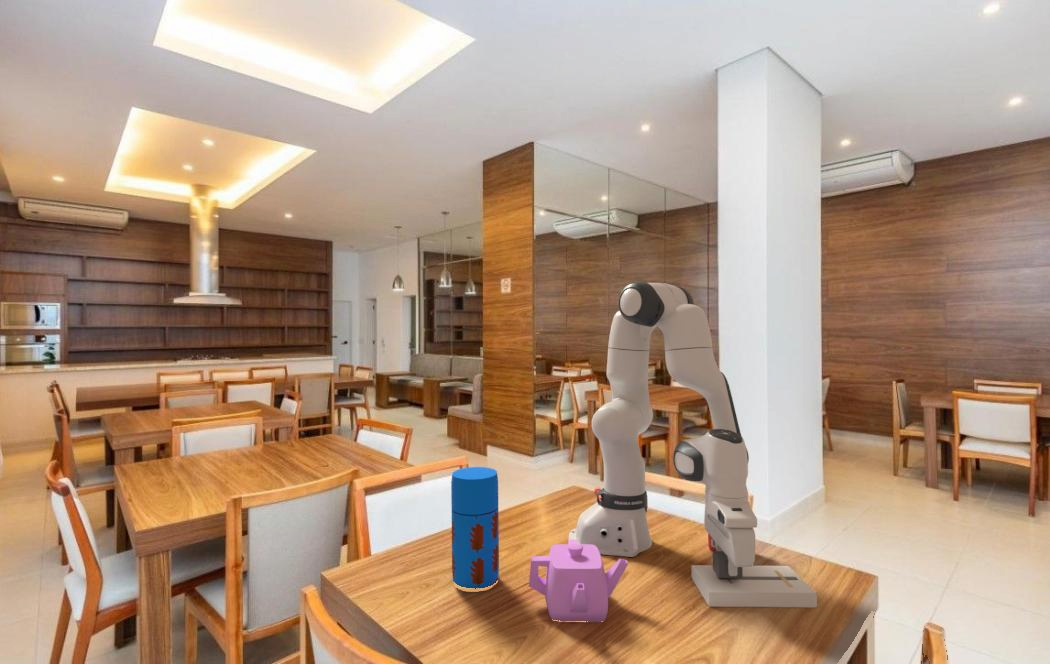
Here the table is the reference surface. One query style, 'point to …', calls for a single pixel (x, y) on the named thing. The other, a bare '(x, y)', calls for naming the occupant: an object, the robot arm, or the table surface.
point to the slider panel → (754, 588)
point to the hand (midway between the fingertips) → (727, 568)
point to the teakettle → (575, 582)
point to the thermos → (475, 527)
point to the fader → (723, 565)
